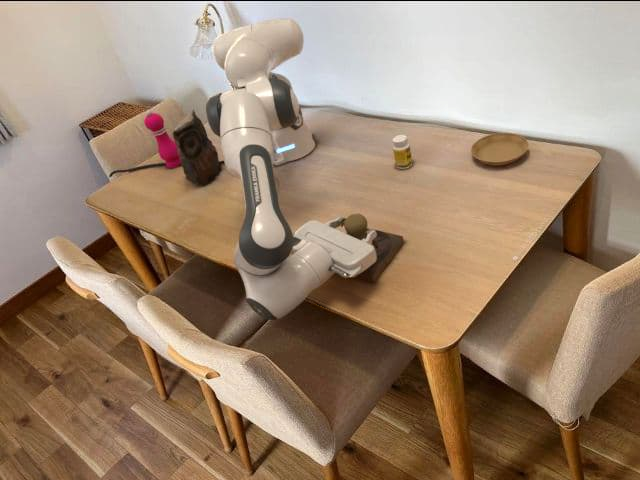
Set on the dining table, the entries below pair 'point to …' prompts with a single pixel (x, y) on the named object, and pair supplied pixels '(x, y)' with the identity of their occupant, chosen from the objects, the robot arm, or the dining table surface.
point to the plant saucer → (499, 148)
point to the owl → (196, 150)
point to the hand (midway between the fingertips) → (358, 225)
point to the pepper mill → (162, 139)
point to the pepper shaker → (356, 226)
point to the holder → (382, 254)
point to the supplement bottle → (402, 152)
